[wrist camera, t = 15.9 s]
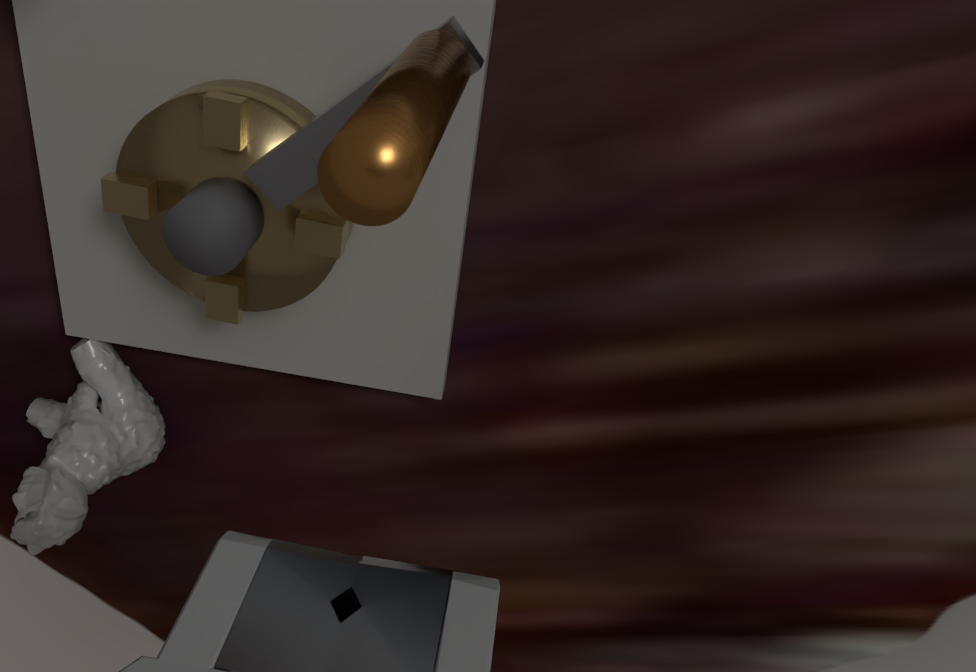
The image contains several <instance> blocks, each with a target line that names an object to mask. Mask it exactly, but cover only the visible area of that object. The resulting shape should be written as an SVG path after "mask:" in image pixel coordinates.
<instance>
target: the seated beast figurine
mask: <svg viewBox="0 0 976 672" xmlns="http://www.w3.org/2000/svg"><path fill="white" fill-rule="evenodd" d="M70 352H71V355H72V359H73V361H74V363H75V365H76V366H75V367H76V369H77V370H78V373H79V374H80V375H81V378H82V379H83V380H84V381H83V382H81V383H80V384H78V385H77V390H76V392H75V393H74V394H73V396H71V397H69V399H68V402H67V404H66V403H64V402H63V403H60V402H57V401H54V400H52V399H48V400H47V399H44V398H42V397H41V398H37V399H36V400H34V401H33V402H32V403H31V405H30V406H29V408H28V410H27V413H26V416H27V417H28V420H26V421H27V422H29V423H30V424H31V425H33V426H35V427H37V428H38V429H39V431H40V432H41V433H42V435H43V436H44V437H46V438H52V439H53V440H52V441H51V442H50V443H49V444H48V446H47V452H46V458H45V459H43V461H42V464H41V465H40V466H39V467H29V468H28V469H27V470H26V471H25V472H24V474H23V480H22V481H21V483H20V486H19V487H18V493H15V494H13V496H12V499H13V502H14V504H15V506H16V507H17V509H18V514H17V516H16V518H15V522H14V523H15V525H14V526H13V527H12V533H11V534H10V537H11V538H12V539H15V540H16V541H17V542H18V543H19V544H26V545H27V548H28V552H29V554H30V555H31V556H34V555H37V554H38V553H40V552H41V551H43V550H45V549H46V548H50V547H52V546H53V545H54V544H55V545H64V544H65V542H66V540H67V539H69V538H70V537H71V536H73V535H74V534H75V533H76V532H78V531H79V530H80V529H81V527H82V524H83V523H82V522H83V520H84V519H85V517H86V514H87V512H88V505H87V498H88V497H87V495H88V494H93V493H95V491H96V490H97V489H100V488H101V487H102V486H103V485H106V484H109V483H110V482H112V480H113V479H116V478H118V477H119V476H123V475H125V476H126V475H129V474H131V473H132V472H136V471H138V470H139V469H141V468H144V467H145V466H146V465H149V464H150V463H154V462H155V460H156V459H157V457H158V454H159V453H160V452H161V451H162V449H163V446H164V444H165V443H166V442H165V439H164V437H163V436H164V435H165V431H164V429H165V423H164V421H163V416H162V415H161V414H160V412H159V407H158V406H157V405H155V404H154V399H153V398H152V397H151V396H150V395H148V392H147V391H146V390H145V389H144V388H143V387H142V384H141V382H139V381H138V380H137V379H136V378H135V376H134V375H133V374H132V372H131V371H130V368H129V367H128V366H126V364H125V363H124V362H123V360H122V359H121V358H120V356H119V355H118V354H117V352H116V351H115V350H114V348H113V346H112V345H111V344H110V343H109V342H105V341H99V340H93V339H87V338H84V339H82V340H81V341H79V342H78V343H77V344H76V345H74V346H73V347H72V348H71V350H70ZM99 396H100V397H101V399H102V403H101V402H99V401H98V398H99ZM97 406H98V407H100V409H97Z"/></svg>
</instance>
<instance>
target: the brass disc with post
mask: <svg viewBox="0 0 976 672" xmlns="http://www.w3.org/2000/svg"><path fill="white" fill-rule="evenodd" d="M483 63H484V59H483V58H482V56H481V55H480V54H479V52H478V51H477V49H476V48H475V46H474V45H473V43H472V42H471V40H470V39H469V37H468V36H467V34H466V33H465V31H464V30H463V28H462V27H461V25H460V24H459V22H458V21H457V19H456V18H455V16H454V15H453V16H451V17H450V18H449V19H447V20H446V21H445V22H443V23H442V24H441V25H439V26H438V27H437V28H435V29H434V30H428V31H425V32H423V33H421V34H419V35H418V36H416V37H415V38H414V39H413V40H412V42H411V43H410V44H409V45H408V46H407V48H406V49H405V50H404V51H403V53H401V54H400V55H399V56H397V57H396V58H395V59H393V60H392V61H391V62H389V63H388V64H387V65H385V66H384V67H383V68H381V69H380V70H378V71H377V72H376V73H374V74H373V75H372V76H370V77H369V78H368V79H366V80H365V81H364V82H362V83H361V84H360V85H358V86H357V87H355V88H354V89H353V90H351V91H350V92H349V93H347V94H346V95H345V96H343V97H342V98H341V99H339V100H338V101H337V102H335V103H334V104H333V105H331V106H330V107H328V108H327V109H326V110H324V111H323V112H322V113H320V114H319V115H318V116H315V115H314V114H313V113H312V112H311V111H310V110H309V109H308V108H306V107H305V106H303V105H302V104H301V103H299V102H298V101H296V100H295V99H293V98H291V97H290V96H288V95H286V94H284V93H282V92H281V91H278V90H276V89H273V88H271V87H268V86H266V85H262V84H258V83H255V82H251V81H244V80H236V79H221V80H213V81H207V82H203V83H200V84H197V85H193V86H191V87H189V88H187V89H185V90H183V91H181V92H179V93H178V94H176V95H175V96H173V97H172V98H170V99H169V100H167V101H166V102H164V103H163V104H161V105H160V106H158V107H157V108H155V109H154V110H152V111H151V112H149V113H148V114H147V115H145V116H144V117H143V118H142V119H141V120H140V121H139V122H138V123H137V124H136V125H135V126H134V127H133V129H132V130H131V132H130V133H129V134H128V136H127V138H126V140H125V142H124V144H123V146H122V148H121V151H120V154H119V157H118V160H117V167H116V172H111V171H110V172H109V173H107V174H106V175H105V176H103V177H102V178H101V189H102V201H103V211H106V212H111V213H116V214H120V215H121V217H122V219H123V222H124V224H125V227H126V229H127V231H128V233H129V235H130V237H131V238H132V240H133V242H134V244H135V245H136V247H137V248H138V249H139V251H140V252H141V254H142V255H143V256H144V258H145V259H146V260H147V261H148V262H149V263H150V264H151V266H152V267H153V268H154V269H155V270H156V271H158V272H159V273H160V274H161V275H162V276H163V277H164V278H165V279H167V280H168V281H169V282H170V283H172V284H173V285H174V286H176V287H177V288H179V289H180V290H182V291H184V292H185V293H187V294H189V295H191V296H193V297H195V298H197V299H199V300H201V301H203V302H205V305H206V318H207V319H212V320H217V321H222V322H227V323H232V324H236V325H238V324H239V322H240V321H241V320H242V318H243V317H244V311H248V312H259V311H269V310H274V309H279V308H283V307H285V306H288V305H291V304H294V303H295V302H297V301H299V300H301V299H303V298H305V297H306V296H307V295H309V294H310V293H312V292H313V291H314V290H315V289H316V288H317V287H318V286H319V285H320V284H321V283H322V282H323V281H324V280H325V278H326V277H327V276H328V274H329V273H330V271H331V270H332V268H333V266H334V264H335V263H336V261H337V259H340V258H341V256H342V255H343V253H344V251H345V245H346V243H347V241H348V239H349V237H350V235H351V232H352V229H353V225H354V223H355V224H359V225H363V226H381V225H385V224H388V223H391V222H393V221H395V220H396V219H398V218H399V217H401V216H402V215H403V214H404V213H405V212H406V210H407V209H408V208H409V206H410V204H411V202H412V200H413V198H414V196H415V194H416V192H417V190H418V188H419V185H420V183H421V181H422V179H423V177H424V175H425V173H426V171H427V168H428V166H429V164H430V162H431V160H432V158H433V156H434V153H435V151H436V149H437V147H438V145H439V143H440V141H441V138H442V136H443V134H444V132H445V130H446V128H447V126H448V124H449V121H450V119H451V117H452V115H453V113H454V111H455V109H456V106H457V104H458V102H459V100H460V98H461V96H462V94H463V91H464V89H465V87H466V85H467V83H468V81H469V78H470V76H471V75H473V74H474V73H476V72H477V71H479V70H480V69H481V68H482V66H483ZM210 178H226V179H230V180H233V181H236V182H238V183H240V184H241V185H243V186H245V187H246V188H247V189H248V190H249V191H250V192H251V193H252V194H253V195H254V196H255V197H256V199H257V200H258V202H259V204H260V206H261V208H262V211H263V215H264V227H263V231H262V234H261V236H260V237H259V239H258V240H257V241H256V242H255V244H254V245H253V246H252V247H251V249H250V250H249V251H248V252H247V254H246V255H245V256H244V257H243V259H242V260H241V261H240V263H239V264H238V265H237V266H236V267H235V268H234V269H233V270H231V271H230V272H228V273H226V274H223V275H218V276H207V275H202V274H198V273H195V272H193V271H191V270H189V269H187V268H186V267H184V266H183V265H181V264H180V263H179V262H178V261H177V260H176V259H175V258H174V257H173V256H172V254H171V253H170V251H169V250H168V248H167V246H166V243H165V241H164V237H163V223H164V219H165V217H166V215H167V213H168V212H169V211H170V210H171V209H172V208H173V207H174V206H175V205H176V204H177V203H178V202H179V201H180V200H181V199H182V198H184V197H185V196H186V195H187V194H188V193H189V192H190V191H191V190H192V189H193V188H194V187H195V186H197V185H198V184H199V183H200V182H202V181H204V180H207V179H210Z"/></svg>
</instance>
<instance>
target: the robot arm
mask: <svg viewBox="0 0 976 672" xmlns="http://www.w3.org/2000/svg"><path fill="white" fill-rule="evenodd" d="M451 576H452V579H451ZM450 583H451V585H450ZM449 589H450V591H449ZM499 592H500V584H499V580H498V579H495V578H489V577H483V576H477V575H472V574H466V573H460V572H453V575H452V570H446V569H440V568H434V567H428V566H422V565H416V564H409V563H403V562H397V561H391V560H385V559H379V558H373V557H367V556H363V557H359V556H354V555H349V554H344V553H340V552H335V551H330V550H325V549H320V548H315V547H310V546H305V545H300V544H295V543H291V542H286V541H281V540H276V539H274V540H273V539H268V538H263V537H258V536H253V535H248V534H243V533H238V532H232V531H227V532H226V533H225V534H224V535H223V536H222V537H221V538H220V539H219V540H218V542H217V543H216V545H215V547H214V549H213V551H212V553H211V555H210V557H209V558H208V560H207V562H206V564H205V566H204V568H203V570H202V572H201V574H200V576H199V578H198V580H197V581H196V583H195V585H194V587H193V589H192V591H191V593H190V595H189V597H188V599H187V601H186V603H185V604H184V606H183V608H182V610H181V612H180V614H179V616H178V618H177V620H176V622H175V624H174V626H173V628H172V629H171V631H170V633H169V635H168V637H167V639H166V641H165V643H164V645H163V647H162V649H161V651H160V652H159V655H158V657H157V658H152V657H145V656H141V657H140V658H138V659H137V660H135V661H134V662H132V663H131V664H129V665H128V666H126V667H125V668H124V669H122V670H120V671H119V672H490V669H491V660H492V652H493V643H494V635H495V626H496V618H497V609H498V601H499Z"/></svg>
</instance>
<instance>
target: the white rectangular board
mask: <svg viewBox="0 0 976 672" xmlns="http://www.w3.org/2000/svg"><path fill="white" fill-rule="evenodd" d="M12 3H13V10H14V16H15V22H16V28H17V34H18V41H19V47H20V53H21V59H22V66H23V72H24V78H25V84H26V90H27V97H28V103H29V109H30V115H31V121H32V128H33V134H34V140H35V146H36V153H37V159H38V165H39V171H40V177H41V184H42V190H43V196H44V202H45V209H46V215H47V221H48V227H49V233H50V240H51V246H52V252H53V258H54V264H55V271H56V277H57V283H58V289H59V296H60V302H61V308H62V314H63V320H64V327H65V333H66V335H70V336H76V337H82V338H87V339H93V340H99V341H105V342H110V343H116V344H122V345H128V346H134V347H139V348H145V349H151V350H157V351H163V352H168V353H174V354H180V355H186V356H192V357H197V358H203V359H209V360H215V361H220V362H226V363H232V364H238V365H244V366H249V367H255V368H261V369H267V370H273V371H278V372H284V373H290V374H296V375H301V376H307V377H313V378H319V379H325V380H330V381H336V382H342V383H348V384H354V385H359V386H365V387H371V388H377V389H383V390H388V391H394V392H400V393H406V394H411V395H417V396H423V397H429V398H435V399H440V400H441V399H442V395H443V391H444V388H445V382H446V374H447V367H448V359H449V352H450V344H451V336H452V329H453V321H454V314H455V306H456V299H457V291H458V284H459V276H460V269H461V261H462V254H463V246H464V239H465V231H466V224H467V216H468V209H469V201H470V194H471V186H472V179H473V171H474V164H475V156H476V149H477V141H478V134H479V126H480V119H481V111H482V104H483V96H484V89H485V81H486V73H487V66H488V58H489V51H490V43H491V36H492V28H493V21H494V13H495V6H496V0H12ZM453 15H454V16H455V18H456V19H457V21H458V22H459V24H460V25H461V27H462V28H463V30H464V31H465V33H466V34H467V36H468V37H469V39H470V40H471V42H472V43H473V45H474V46H475V48H476V49H477V51H478V52H479V54H480V55H481V56H482V58H483V59H484V63H483V66H482V68H481V69H480V70H479V71H477V72H476V73H474V74H473V75H471V76H470V78H469V81H468V83H467V85H466V87H465V89H464V91H463V94H462V96H461V98H460V100H459V102H458V104H457V106H456V109H455V111H454V113H453V115H452V117H451V119H450V121H449V124H448V126H447V128H446V130H445V132H444V134H443V136H442V138H441V141H440V143H439V145H438V147H437V149H436V151H435V153H434V156H433V158H432V160H431V162H430V164H429V166H428V168H427V171H426V173H425V175H424V177H423V179H422V181H421V183H420V185H419V188H418V190H417V192H416V194H415V196H414V198H413V200H412V202H411V204H410V206H409V208H408V209H407V210H406V212H405V213H404V214H403V215H402V216H401V217H399V218H398V219H396V220H395V221H393V222H391V223H388V224H385V225H381V226H363V225H359V224H355V223H354V225H353V229H352V232H351V235H350V237H349V239H348V241H347V243H346V245H345V251H344V253H343V255H342V256H341V258H340V259H337V261H336V263H335V264H334V266H333V268H332V270H331V271H330V273H329V274H328V276H327V277H326V278H325V280H324V281H323V282H322V283H321V284H320V285H319V286H318V287H317V288H316V289H315V290H314V291H313V292H312V293H310V294H309V295H307V296H306V297H305V298H303V299H301V300H299V301H297V302H295V303H294V304H291V305H288V306H285V307H283V308H279V309H274V310H269V311H259V312H248V311H244V317H243V318H242V320H241V321H240V322H239V324H238V325H236V324H232V323H227V322H222V321H217V320H212V319H207V318H206V305H205V302H203V301H201V300H199V299H197V298H195V297H193V296H191V295H189V294H187V293H185V292H184V291H182V290H180V289H179V288H177V287H176V286H174V285H173V284H172V283H170V282H169V281H168V280H167V279H165V278H164V277H163V276H162V275H161V274H160V273H159V272H158V271H156V270H155V269H154V268H153V267H152V266H151V264H150V263H149V262H148V261H147V260H146V259H145V258H144V256H143V255H142V254H141V252H140V251H139V249H138V248H137V247H136V245H135V244H134V242H133V240H132V238H131V237H130V235H129V233H128V231H127V229H126V227H125V224H124V222H123V219H122V217H121V215H120V214H116V213H111V212H106V211H103V201H102V189H101V178H102V177H103V176H105V175H106V174H107V173H109V172H110V171H111V172H116V167H117V160H118V157H119V154H120V151H121V148H122V146H123V144H124V142H125V140H126V138H127V136H128V134H129V133H130V132H131V130H132V129H133V127H134V126H135V125H136V124H137V123H138V122H139V121H140V120H141V119H142V118H143V117H144V116H145V115H147V114H148V113H149V112H151V111H152V110H154V109H155V108H157V107H158V106H160V105H161V104H163V103H164V102H166V101H167V100H169V99H170V98H172V97H173V96H175V95H176V94H178V93H179V92H181V91H183V90H185V89H187V88H189V87H191V86H193V85H197V84H200V83H203V82H207V81H213V80H221V79H236V80H244V81H251V82H255V83H258V84H262V85H266V86H268V87H271V88H273V89H276V90H278V91H281V92H282V93H284V94H286V95H288V96H290V97H291V98H293V99H295V100H296V101H298V102H299V103H301V104H302V105H303V106H305V107H306V108H308V109H309V110H310V111H311V112H312V113H313V114H314V115H315V116H318V115H319V114H320V113H322V112H323V111H324V110H326V109H327V108H328V107H330V106H331V105H333V104H334V103H335V102H337V101H338V100H339V99H341V98H342V97H343V96H345V95H346V94H347V93H349V92H350V91H351V90H353V89H354V88H355V87H357V86H358V85H360V84H361V83H362V82H364V81H365V80H366V79H368V78H369V77H370V76H372V75H373V74H374V73H376V72H377V71H378V70H380V69H381V68H383V67H384V66H385V65H387V64H388V63H389V62H391V61H392V60H393V59H395V58H396V57H397V56H399V55H400V54H401V53H403V51H404V50H405V49H406V48H407V46H408V45H409V44H410V43H411V42H412V40H413V39H414V38H415V37H416V36H418V35H419V34H421V33H423V32H425V31H428V30H434V29H435V28H437V27H438V26H439V25H441V24H442V23H443V22H445V21H446V20H447V19H449V18H450V17H451V16H453ZM263 227H264V215H263V211H262V208H261V206H260V204H259V202H258V200H257V199H256V197H255V196H254V195H253V194H252V193H251V192H250V191H249V190H248V189H247V188H246V187H245V186H243V185H241V184H240V183H238V182H236V181H233V180H230V179H226V178H210V179H207V180H204V181H202V182H200V183H199V184H198V185H197V186H195V187H194V188H193V189H192V190H191V191H190V192H189V193H188V194H187V195H186V196H185V197H184V198H182V199H181V200H180V201H179V202H178V203H177V204H176V205H175V206H174V207H173V208H172V209H171V210H170V211H169V212H168V213H167V215H166V217H165V219H164V223H163V237H164V241H165V243H166V246H167V248H168V250H169V251H170V253H171V254H172V256H173V257H174V258H175V259H176V260H177V261H178V262H179V263H180V264H181V265H183V266H184V267H186V268H187V269H189V270H191V271H193V272H195V273H198V274H202V275H207V276H218V275H223V274H226V273H228V272H230V271H231V270H233V269H234V268H235V267H236V266H237V265H238V264H239V263H240V261H241V260H242V259H243V257H244V256H245V255H246V254H247V252H248V251H249V250H250V249H251V247H252V246H253V245H254V244H255V242H256V241H257V240H258V239H259V237H260V236H261V234H262V231H263Z"/></svg>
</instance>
